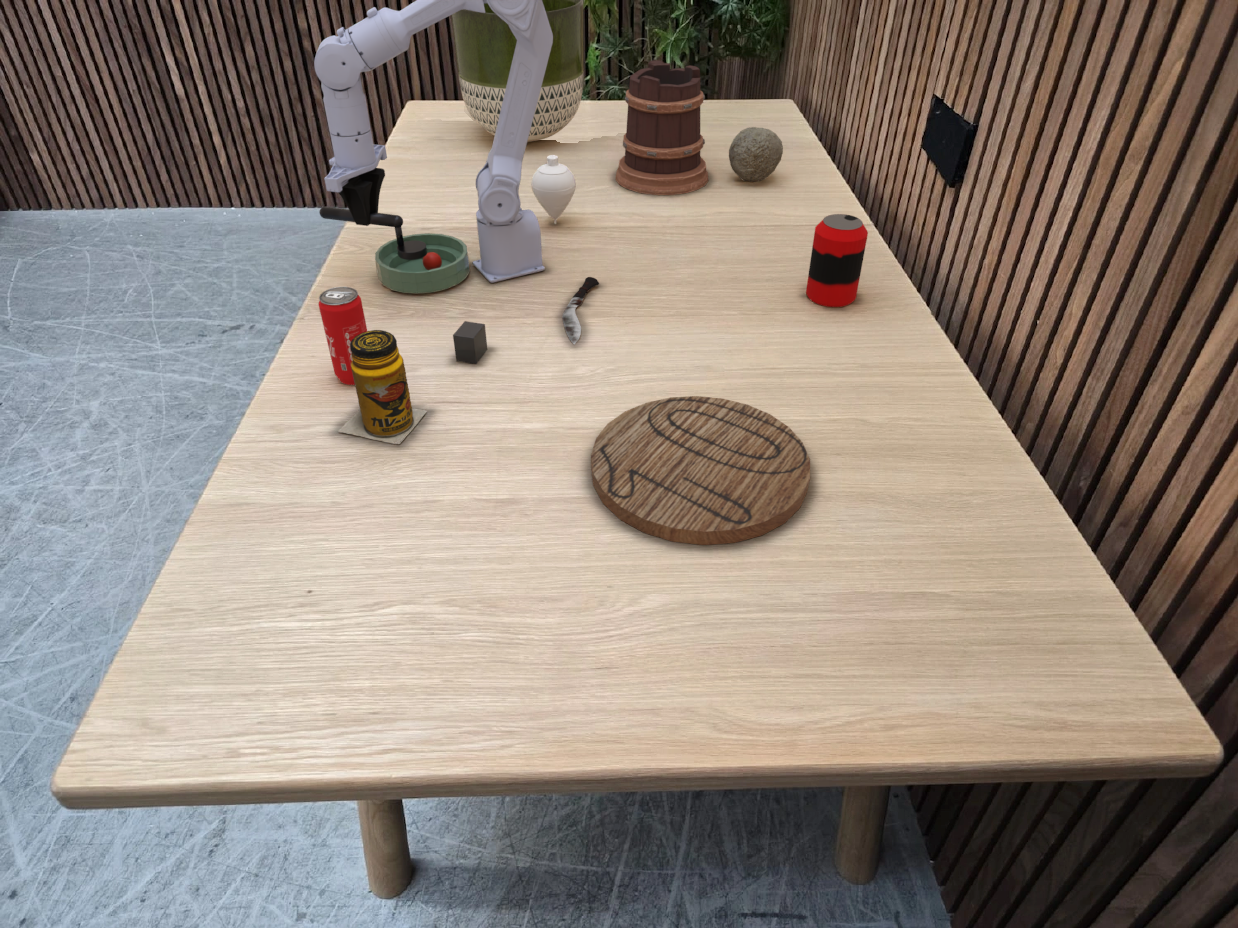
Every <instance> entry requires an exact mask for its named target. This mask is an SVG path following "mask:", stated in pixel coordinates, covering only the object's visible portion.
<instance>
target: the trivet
mask: <svg viewBox="0 0 1238 928" xmlns="http://www.w3.org/2000/svg"><path fill="white" fill-rule="evenodd" d="M590 453H591V454H590V469H591V477H592V479H591V480H592V486H593V488H594V490H595V492H596V493H597V495H598V498H599V499H600V502H601V503H602V505H604V506H605V507H606V508H607V509H608V510H609V511H610V512H611V513H612V514H613V515H615V516H616V518H617V519H619V520H620V521H622V522H623V523H625V524H627V525H629V526H630V527H632V528H634V529H636V530H638V531H640V532H642V533H643V534H646V535H650V536H653V537H656V538H659V539H660V538H661V539H663V540H666V541H670V542H673V543H682V544H692V545H699V546H707V545H708V546H709V545H711V546H712V545H723V544H726V545H727V544H736V543H740V542H742V541H743V542H744V541H746V540H751V539H753V538H758V537H761V536H763V535H766V534H767V533H769V532H771V531H774V530H775V529H776V528H779V527H781V526H782V525H784V524H786V523H787V522H788V521H789V520H790V519H791V517H793V516H794V515H795V514H796V513H797V512H798V511H799V510H800V509H801V506H802V504H803V502H804V500H805V498H806V496H807V493H808V491H809V486H810V482H811V481H810V480H811V459H810V456H809V454H808V451H807V450H806V447H805V444H804V442H803V441H802V440H801V438H799V436H798V435H797V434H796V433H795V432H794V431H793V430H792V429H791V428H790V426H788V425H787V424H786V423H784V422H782V421H781V420H780V419H778V418H776V417H775V416H774V415H772V414H771V413H768V412H766V411H764V410H761V409H759V408H757V407H754V406H751V405H749V404H747V403H743V402H739V401H735V400H731V399H726V398H722V397H711V396H701V395H690V396H689V395H688V396H672V397H671V396H670V397H667V398H661V399H657V400H652V401H648V402H645V403H642V404H640V405H637V406H635V407H632V408H629V409H627V410H625V411H624V412H622V413H621V414H619V415H618V416H616V417H615V418H613V419H611V420H610V421H609V422H608V423H607V424H606V425H605V426H604V428H603V429H602V430H601V432H599V433H598V435H597V436H596V438H595V440H594V443H593V447H592V450H591V452H590Z"/></svg>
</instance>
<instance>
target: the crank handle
mask: <svg viewBox="0 0 1238 928" xmlns="http://www.w3.org/2000/svg"><path fill="white" fill-rule="evenodd" d="M318 211H319V215H320V217H321V218H322V219H324V220H333V221H339V222H340V221H341V222H348V223H355V221H354V219H353V217H352V214H351V212H350V210H349V208H340V207H333V206H321V208H320V209H319V210H318ZM370 218H371V219H370V225H374V226H381V227H382V226H383V227H391V228H394V232H395V239H397V245H398V246H397V251H398V256H399V257H400V258H402V259H405V260H415V259H420V258H422V257H424V256H426V255H427V247H426V244H425V243H424V242H422V241H416V240H413V241H406V242H404V240H403V236H404V233H403V228H402V226H403V224H404V219H403V217H402V216H401V215H398V214H391V213H381V212H378V213H375V212H370Z"/></svg>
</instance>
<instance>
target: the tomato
mask: <svg viewBox="0 0 1238 928" xmlns="http://www.w3.org/2000/svg"><path fill="white" fill-rule="evenodd" d="M441 265H442V260H441V257H440V256H439V255H438V254H437V253H434V252H429V253H427V255H426V256H424V257H423V266H424V267H425V268H426V269H427V270H431V269H436V268H440V267H441Z"/></svg>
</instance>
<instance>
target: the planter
mask: <svg viewBox="0 0 1238 928" xmlns="http://www.w3.org/2000/svg"><path fill="white" fill-rule="evenodd" d="M542 2H543V5H544V8H545V11H546V15H547V18H548V21H549V24H550V27H551V30H552V34H553V43H552V47H551V51H550V55H549V59H548V63H547V67H546V71H545V74H544V78H543V82H542V86H541V90H540V94H539V98H538V102H537V106H536V110H535V113H534V117H533V121H532V125H531V129H530V133H529V137H528V141H527V143H529V142H530V143H531V142H536V141H542V140H545V139H548V138H550V137H553V136H554V135H556V134H558V133H559V132H561V131H562V130H563V129H564V128H566V127H567V126H568V124H569V123H570V122H571V121H572V120H573V118H574V117H575V116H576V114H577V112H578V110H579V108H580V105H581V101H582V97H583V91H584V81H585V79H584V77H585V75H584V74H585V73H584V72H585V70H584V69H585V67H584V65H585V61H584V60H585V52H584V51H585V50H584V49H585V47H584V46H585V45H584V20H585V19H584V17H585V16H584V0H542ZM484 8H485V13H481V12H476V11H471V10H466V9H462V10H460V11H458V12H456V13H454V14H452V15H450V19H451V27H452V34H453V35H452V36H453V41H454V42H453V43H454V52H455V53H454V54H455V59H456V67H457V75H458V81H459V89H460V93H461V97H462V99H463V103H464V105H465V108H466V110H467V112H468V113H469V115H470V117H471V118H472V119H473V120H474V121H475V123H477V125H478V126H480V127H481V128H482V129H483V130H485V132H488V133H489V134H491V135H492V136H494V137H495V132H496V128H497V124H498V120H499V115H500V111H501V107H502V103H503V98H504V94H505V90H506V86H507V81H508V77H509V73H510V69H511V64H512V60H513V56H514V51H515V47H516V43H517V39H516V38H515V36H514V34H513V33H512V31H511V29H510V28H509V25H508V24H507V23H506V22H505V21H503V20H502V19H501V18H500V17H499V16H498V15H497V14H496V13H494V12H493V11H492V9H491V8H490V7H489V5H488V3H484Z"/></svg>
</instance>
